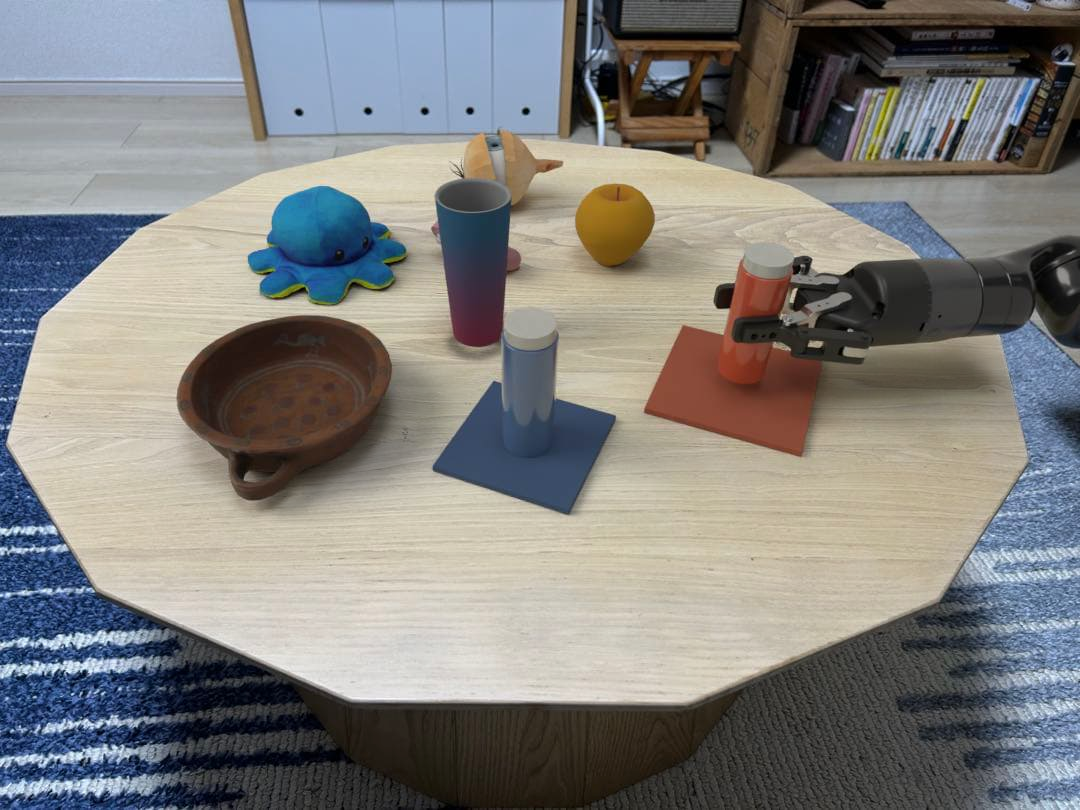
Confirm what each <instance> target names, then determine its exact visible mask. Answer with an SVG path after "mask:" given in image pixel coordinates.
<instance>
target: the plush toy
mask: <svg viewBox="0 0 1080 810" xmlns="http://www.w3.org/2000/svg"><path fill="white" fill-rule="evenodd" d="M390 236H391V230H390V229H389V227H388V226H387V225H386V224H383V223H381V222H375V221H371V217H370V214H369V212H368V210H367V208H366V207H365V206H364V204H363V203H362V202H361V201H360V200H358V199H357V198H355V197H354V196H352V195H350V194H347V193H345V192H343V191H341V190H339V189H337V188H335V187H331V186H329V185H316V186H311V187H309V188H306V189H304V190H300V191H297V192H295V193H292V194H290V195H289V194H288V195H287V196H285V197H284V198H282V199H281V200H280V202H279V203H278V204H277V205H276V206H275V209H274V211H273V214H272V216H271V230H270V231H269V232H268V234H267V236H266V243H267V246H268V247H267V248H264V249H258V250H254V251H252V252H250V253H249V254H248V255H247V263H248V265H249V267H250V270H251V271H252V272H253V273H256V274H265V273H268V272H269V274H268V275H266V276H264V278H263V279H262V280H261V281H260V283H259V288H258V291H259V292H260V293H261V294H263V296H265V297H269V298H271V299H272V298H273V299H275V298H284V297H285V296H286V297H287V296H288V295H289V296H290V295H291V294H292V293H294V292H297V291H299V290H300V289H302V288H305V290H306V292H307V298H308V300H309V302H312V303H316V304H318V305H327V306H329V305H336V304H339V303H341V301H343V299H344V298H345V297H346V296H347V295H346V294H347V293H348V290H349V287H350V286H351V284H352V283H357V284H359V285H361V286H363V287H364V288H366V289H371V290H380V289H384V288H386V287H389V286H390V285H391V284H393V281H394V280H396V276H395V273H394V271H393V269H392V268H390V266H388V265H387V264H389V263H393V262H398V261H400V260H403V259H404V258H406V257H407V254H408V253H407V252H408V250H407V248H406V246H405V245H404V244H403V243H401V242H400V241H397V240H392V239H390V238H389V237H390Z"/></svg>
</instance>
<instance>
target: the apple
mask: <svg viewBox="0 0 1080 810" xmlns="http://www.w3.org/2000/svg"><path fill="white" fill-rule="evenodd" d="M654 211H655V210H654V208H653V205H652V203H651V202H650V201H649V199H648V198H647V196H646V195H645V194H644V193H643V192H642V191H641V190H639V189H638V188H636V187H634V186H632V185H629V184H625V183H605V184H602V185H599V186H597V187H594V188H593V189H592V190H590V191H589V192H588V194H586V195H585V196H584V197H583V198H582V199H581V200H580V202H579V205H578V207H577V209H576V212H575V216H574V223H575V224H574V227H575V230H576V234H577V236H578V239H579V241H580V242H581V244H582V245H583V247H584V249H585V250H586V252H587V253H588V254H589V255H590V257H591V258H592V260H594V261H595V262H597V263H598V264H599V265H602V266H604V267H613V266H618V265H621V264H623V263H625V262H626V261H628V260H629V259H630V258H631V257H632V256H633V255H635V254H636V253H637V252H639V251H640V250H641V249H642V247H643V246H644V245H645V243H646V242H647V240H648V239H649V237H650V236H651V234H652V232H653V229H654V226H655V223H656V214H655V212H654Z"/></svg>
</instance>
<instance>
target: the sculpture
mask: <svg viewBox="0 0 1080 810" xmlns="http://www.w3.org/2000/svg"><path fill="white" fill-rule="evenodd" d="M501 128H503V126H502V125H501V126H499V127H498V128H497V131H496V134H493V135H492V134H491V135H488V136H486V134H485V132H484V131H483V132H481V133H479V134H477V135H475V136H474V137H473V138H472V139H471V140H470V141H469V143H468V144H467V145H466V148H465V150H464V153H463V158H461V160H460V168H459V167H458V166H457V165H456V164H455V163H453V162H452V161H449V163H451V164H452V165H453V166H454V167H455V168H456V169H457V170H458V171H456V170H453V169H452V168H451V166H450V165H449V169H450V170H451V172H452V173H454V174H455V175H456V176H458V177H460V179H463V178H484V179H490V180H494V181H497V182H499V183H502V184H503V185H505V186H506V187H507V188H509V190H510V191H511V195H512V198H511V207H512V206H515V205H517V203H518V202H519V201H521V199H522V198H523V197H524V195H525V194H526V192H528V189H529V187H530V185H531V182H532V181H533V180H534V177H535V176H536V175H537V174H539V173H540V174H545V173H549V172H551V171H554V170H556V169H559V168H561V167H563V166H564V162H565V161H564V160H558V159H547V158H536V157H535V156H534V155H533V153H532V152H531V151H530V149H529V148H528V146H527V145H526V144H525V142H524V141H523V140H522V138H520V137H519V136H518V135H516V134H515V133H513V132H511V131H509V130H503V129H501ZM462 160H463V164H462Z"/></svg>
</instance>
